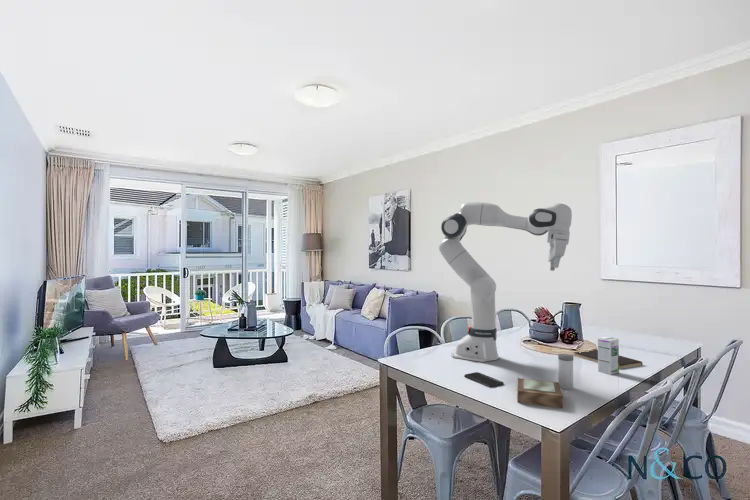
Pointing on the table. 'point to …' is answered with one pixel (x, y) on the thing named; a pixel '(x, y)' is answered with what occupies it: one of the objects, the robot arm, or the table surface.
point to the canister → (565, 371)
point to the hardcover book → (623, 361)
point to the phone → (483, 379)
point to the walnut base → (539, 393)
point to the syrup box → (608, 355)
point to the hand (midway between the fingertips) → (554, 269)
